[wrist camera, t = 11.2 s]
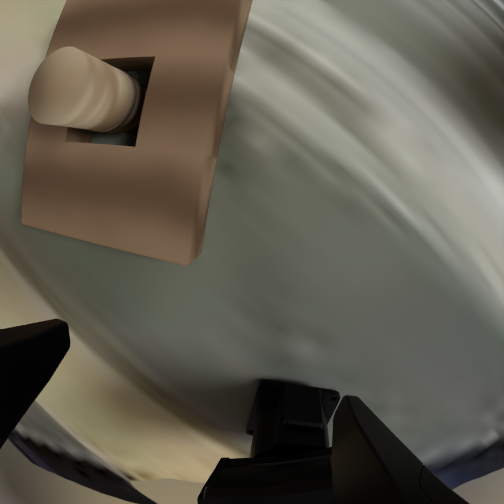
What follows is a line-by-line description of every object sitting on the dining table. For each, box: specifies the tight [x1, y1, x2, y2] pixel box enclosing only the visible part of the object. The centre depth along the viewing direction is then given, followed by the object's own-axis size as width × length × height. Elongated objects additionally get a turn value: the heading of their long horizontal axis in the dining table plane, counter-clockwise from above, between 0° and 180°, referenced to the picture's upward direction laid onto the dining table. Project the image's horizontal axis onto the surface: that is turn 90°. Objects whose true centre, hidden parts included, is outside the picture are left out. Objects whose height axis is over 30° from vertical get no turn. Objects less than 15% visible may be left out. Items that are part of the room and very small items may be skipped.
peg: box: [28, 47, 146, 133], centre depth 14 cm, size 4×4×8 cm
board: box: [21, 0, 252, 266], centre depth 17 cm, size 18×14×3 cm
